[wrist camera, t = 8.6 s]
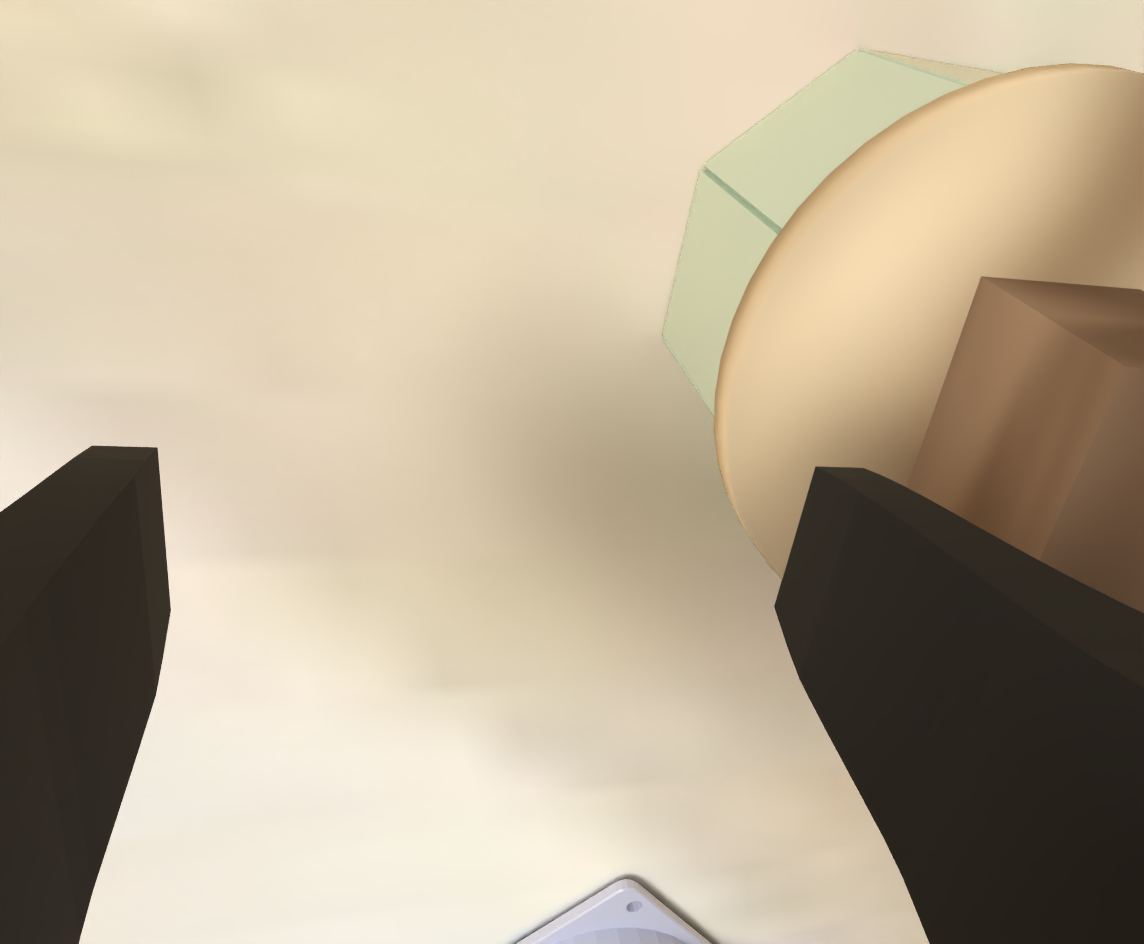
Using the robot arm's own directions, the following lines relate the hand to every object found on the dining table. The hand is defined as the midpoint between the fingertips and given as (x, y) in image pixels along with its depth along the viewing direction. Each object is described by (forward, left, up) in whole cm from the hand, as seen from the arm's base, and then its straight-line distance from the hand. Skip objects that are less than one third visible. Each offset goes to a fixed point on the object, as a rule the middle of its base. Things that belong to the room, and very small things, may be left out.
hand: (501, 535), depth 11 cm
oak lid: (-7, -7, -5) cm, 11 cm away
